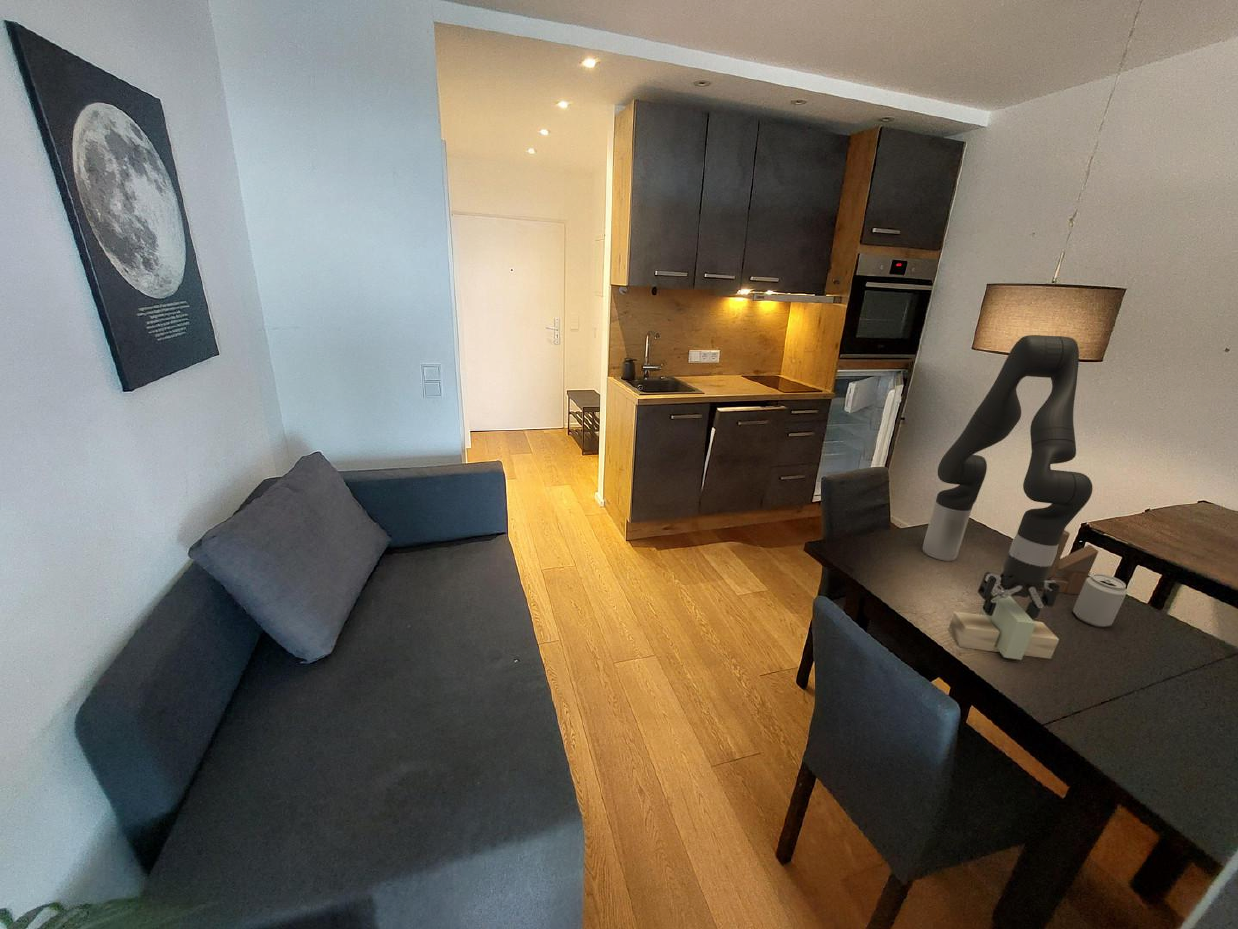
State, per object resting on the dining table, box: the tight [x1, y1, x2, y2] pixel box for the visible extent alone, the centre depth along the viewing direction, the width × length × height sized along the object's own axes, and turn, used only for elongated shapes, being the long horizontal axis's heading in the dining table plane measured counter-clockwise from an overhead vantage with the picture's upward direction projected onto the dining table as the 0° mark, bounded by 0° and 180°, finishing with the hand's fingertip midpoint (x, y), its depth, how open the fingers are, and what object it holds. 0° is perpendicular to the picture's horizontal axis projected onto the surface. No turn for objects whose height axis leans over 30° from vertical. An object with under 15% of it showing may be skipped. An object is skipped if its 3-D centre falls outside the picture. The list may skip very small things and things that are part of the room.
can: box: [1072, 572, 1128, 628], centre depth 120 cm, size 8×8×12 cm
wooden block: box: [1040, 529, 1099, 596], centre depth 131 cm, size 4×11×18 cm, turn 77°
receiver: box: [947, 611, 1060, 659], centre depth 113 cm, size 6×19×6 cm, turn 80°
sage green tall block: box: [979, 589, 1036, 661], centre depth 111 cm, size 12×4×10 cm, turn 169°
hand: (1008, 616), depth 111 cm, fingers open, 8 cm apart
